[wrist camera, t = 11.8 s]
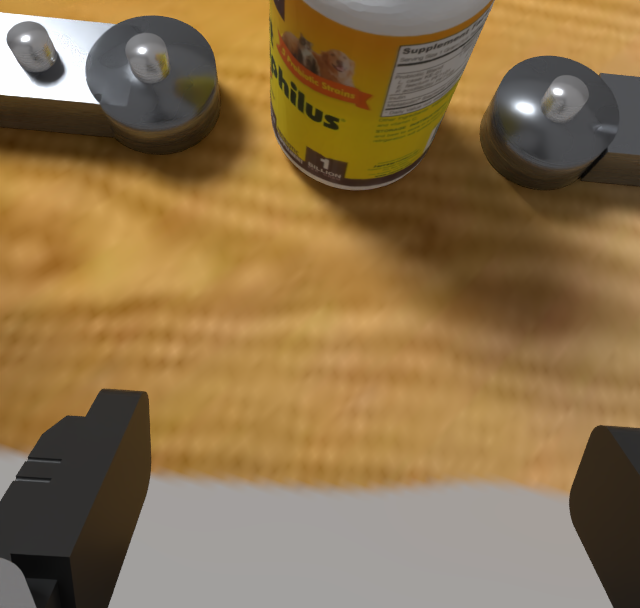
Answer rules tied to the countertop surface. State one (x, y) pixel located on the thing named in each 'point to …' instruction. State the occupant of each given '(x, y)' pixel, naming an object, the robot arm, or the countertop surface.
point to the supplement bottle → (366, 82)
